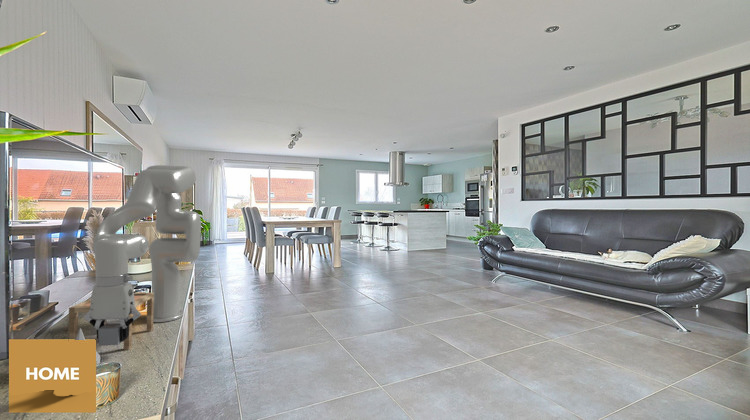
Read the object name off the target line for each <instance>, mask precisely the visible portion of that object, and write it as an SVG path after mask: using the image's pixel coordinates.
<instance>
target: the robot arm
mask: <svg viewBox="0 0 750 420" xmlns="http://www.w3.org/2000/svg"><path fill="white" fill-rule="evenodd" d="M196 180H197V175H196V171H195V170H194V169H193V168H192V167H190V166H184V165H183V166H181V165H180V166H179V165H166V164H165V165H162V164H160V165H157V164H155V165H150V166H147V167H146V169H143V170H141V171H139V173H138V174H137V175H136V177H135V180H134V183H133V185H132V188H131V191H130V193H129V195H128V197H127V200H126V202H125V204H123V205H121V206H120V207H119V208H116V209H115V210H114V211H112V212H111V213H110V214H108V215H107V216H106V217H105V218H104V219H103V220H102V221H101V222H100V224H99V227H98V229H97V231H96V233H95V236H94V238H93V241H92V251H93V254H94V258H95V259H94V263H95V264H94V265H95V269H94V270H95V285H93V288H92V291H91V297H90V298H91V303H90V310H89V311H88V312H86V314H85V315H84V316H83V319H84V320H85V321H86V322H88V323H89V324H90V325H92V327H93V329H94V330H96V339H97V343H98V344H99V338H98V329H99V328H100V327H102V326H103V325H104V324H105V321H106V322H107V321H108V320H118V322H120V324H121V327H122V328H121V329H120V342H121V343H122V342H123V343H124V340H125V339H127V338H128V336H129V325H130V324H131V323H132V324H133V323H134V321H136V320H137V319H138V318H139V317H141V316H142V313H141V312H140V311H139V310H138V309H137V307H136V308H135V298H134V293H135V292H134V289H133V285H132V283H131V282H133V279H134V277H133V275H129V272H128V271H129V269H128V267H129V265H128V262H129V261H128V260H130V259H138V258H141V257H143V256H144V255H145V254H147V252H148V251H149V258H150V263H151V293H154V309H153V323H165V322H171V321H175V320H179V319H181V318H182V317H183V316H184V314H185V312H184V311H183V310H180V305H181V301H180V296H181V293H180V291H181V290H180V287H181V286H180V283H181V272H180V269H179V267H178V266H177V264H176V263H191V262H195V261H197V260H198V258H199V256H200V252H201V236H202V235H201V233H202V221H201V216H200V214H199V213H197V212H196V211H193V210H182V197H181V195H180V193H183V192H185V191H188V190H190V189H191V188H193V187H194V185H195V183H196ZM155 212H156V214H155ZM154 214H155V229H156V232H158V233H159V234H161V235H162V234H163V235H184V237H159V238H156V239H154V240H152V242H151V243H150V241H149V240H148V238H147V237H146V236H145V235H142V234H137V233H136V234H135V233H117V232H118V231H119V230H120V229H121V228H123V227H124V226H126V225H128V224H131V223H133V222H136V221H140V220H142V219H144V218H147V217H150V216H151V215H154ZM130 281H131V282H130ZM129 314H132V317H131V318H130V319H129Z"/></svg>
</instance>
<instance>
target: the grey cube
mask: <svg viewBox="0 0 750 420" xmlns="http://www.w3.org/2000/svg"><path fill="white" fill-rule="evenodd" d="M121 328H122V327H121V324H120V321H108V322H106V324H105V325H103V326H102V327H100V328H99V329H98V338H99V343H98V346H99V347H100V346H102V347H103V346H118V345H120V344H121V343H122V342H120V329H121Z"/></svg>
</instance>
